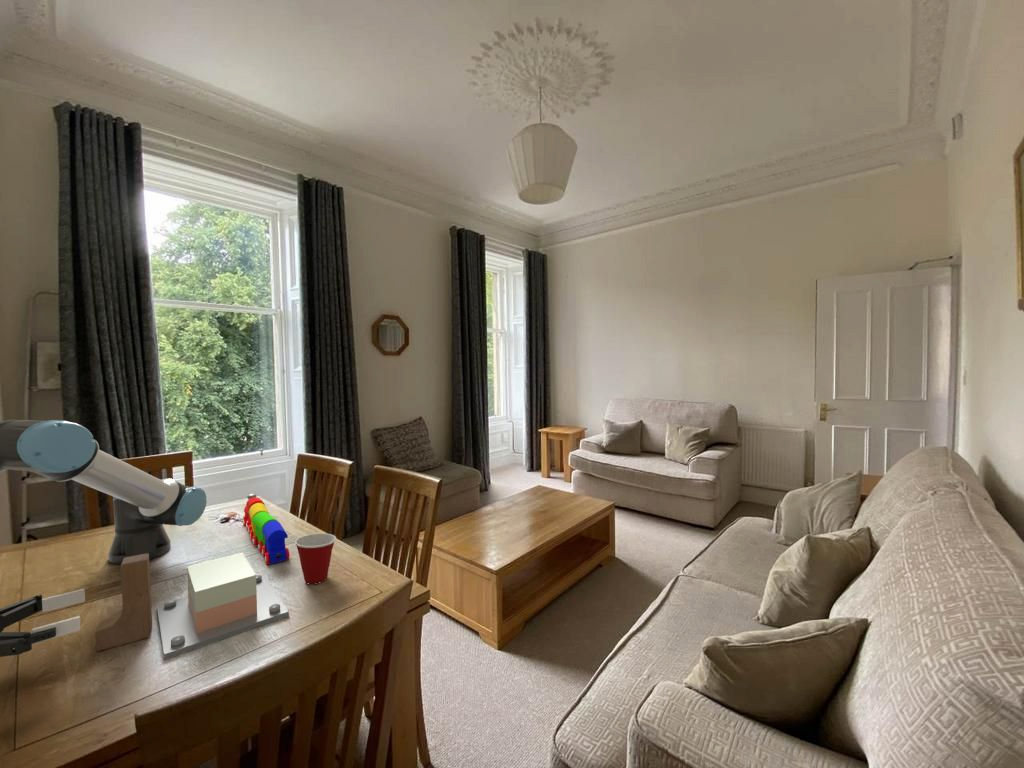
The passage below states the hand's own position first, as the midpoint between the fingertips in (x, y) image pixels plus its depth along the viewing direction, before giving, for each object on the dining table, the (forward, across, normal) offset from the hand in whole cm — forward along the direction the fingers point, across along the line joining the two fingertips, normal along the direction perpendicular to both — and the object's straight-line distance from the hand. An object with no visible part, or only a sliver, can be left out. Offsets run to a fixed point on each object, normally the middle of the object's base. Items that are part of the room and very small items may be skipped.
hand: (82, 608), depth 94 cm
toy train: (+42, -40, -10) cm, 59 cm away
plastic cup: (+48, -1, -10) cm, 49 cm away
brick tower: (+24, +2, -10) cm, 26 cm away
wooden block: (+6, 0, -10) cm, 12 cm away
